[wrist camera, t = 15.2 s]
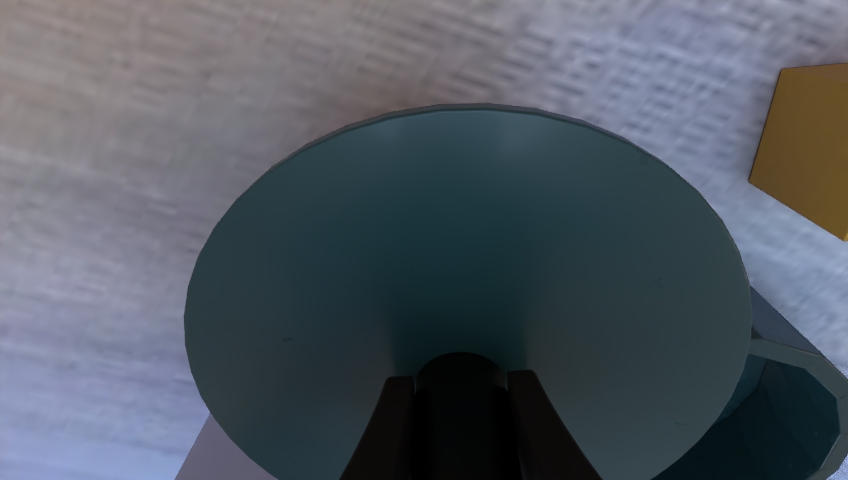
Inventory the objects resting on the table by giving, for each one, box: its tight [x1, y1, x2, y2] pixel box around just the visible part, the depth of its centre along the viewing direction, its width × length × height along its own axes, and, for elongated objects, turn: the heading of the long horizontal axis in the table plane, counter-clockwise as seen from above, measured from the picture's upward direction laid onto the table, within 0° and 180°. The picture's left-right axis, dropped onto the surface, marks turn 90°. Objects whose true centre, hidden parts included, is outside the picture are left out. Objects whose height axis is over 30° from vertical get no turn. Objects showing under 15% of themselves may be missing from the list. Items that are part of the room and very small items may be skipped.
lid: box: [184, 103, 753, 480], centre depth 11 cm, size 15×15×5 cm
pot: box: [650, 286, 848, 480], centre depth 22 cm, size 14×14×5 cm
